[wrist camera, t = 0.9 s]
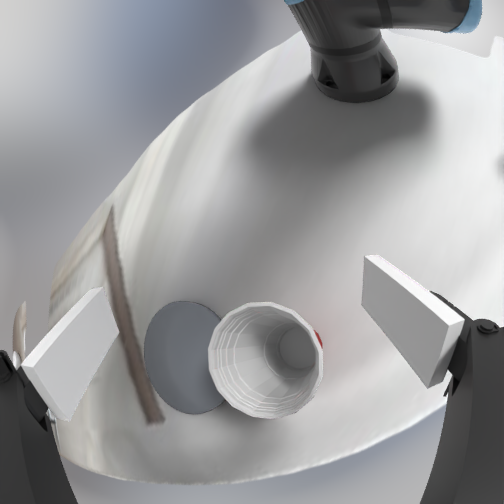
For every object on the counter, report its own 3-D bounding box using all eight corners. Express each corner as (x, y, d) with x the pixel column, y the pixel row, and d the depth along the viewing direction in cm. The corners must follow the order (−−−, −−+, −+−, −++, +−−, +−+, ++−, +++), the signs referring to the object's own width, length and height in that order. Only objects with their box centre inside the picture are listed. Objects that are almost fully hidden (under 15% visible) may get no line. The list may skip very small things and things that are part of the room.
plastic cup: (312, 405, 29) (275, 443, 19) (248, 358, 35) (190, 371, 24) (361, 333, 29) (348, 345, 18) (289, 290, 34) (242, 278, 24)
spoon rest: (17, 355, 91) (6, 354, 85) (20, 348, 88) (8, 346, 82) (26, 398, 81) (14, 397, 75) (29, 393, 78) (17, 393, 72)
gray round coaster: (153, 298, 45) (147, 297, 44) (241, 306, 37) (235, 305, 36) (149, 393, 42) (143, 395, 40) (233, 425, 33) (228, 428, 32)
